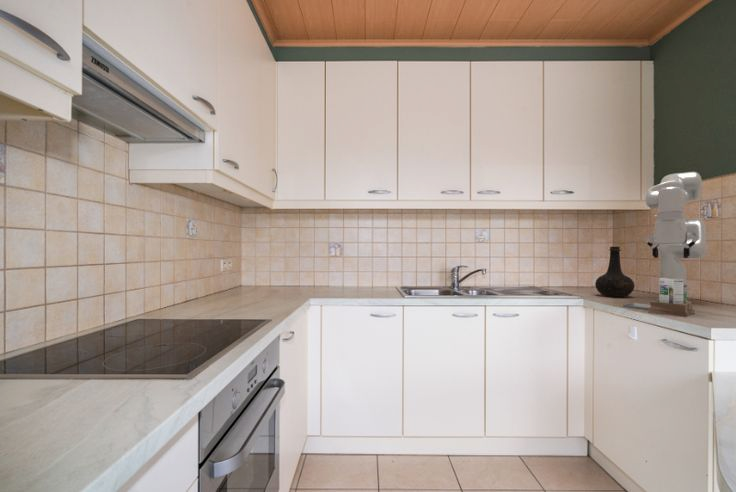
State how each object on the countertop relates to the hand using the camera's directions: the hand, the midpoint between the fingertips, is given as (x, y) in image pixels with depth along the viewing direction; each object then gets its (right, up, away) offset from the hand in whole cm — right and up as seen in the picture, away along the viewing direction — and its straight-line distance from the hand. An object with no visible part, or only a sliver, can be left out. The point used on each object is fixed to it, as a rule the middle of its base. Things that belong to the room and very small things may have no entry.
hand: (670, 257), depth 146 cm
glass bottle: (+12, -24, +51) cm, 57 cm away
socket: (0, -23, 0) cm, 23 cm away
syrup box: (0, -23, 0) cm, 23 cm away
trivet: (0, -23, +15) cm, 27 cm away
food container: (+18, -23, +16) cm, 33 cm away
